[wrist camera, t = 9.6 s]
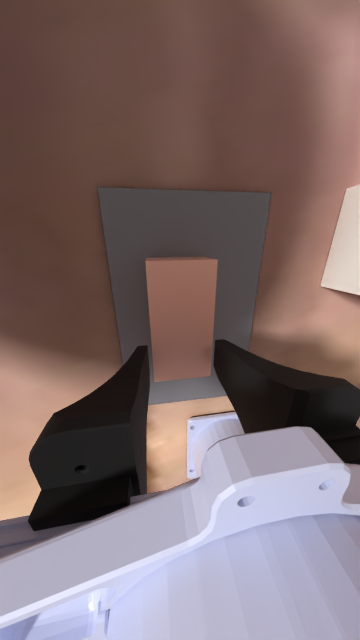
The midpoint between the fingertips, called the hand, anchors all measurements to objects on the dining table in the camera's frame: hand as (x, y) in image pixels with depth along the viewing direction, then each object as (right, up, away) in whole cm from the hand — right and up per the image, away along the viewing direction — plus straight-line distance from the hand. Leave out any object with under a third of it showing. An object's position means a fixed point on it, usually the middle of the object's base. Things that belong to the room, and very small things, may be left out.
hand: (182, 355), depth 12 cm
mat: (0, +3, +3) cm, 4 cm away
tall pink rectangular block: (0, +3, +2) cm, 4 cm away
